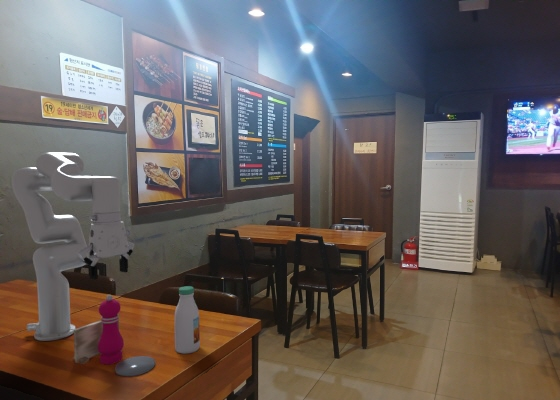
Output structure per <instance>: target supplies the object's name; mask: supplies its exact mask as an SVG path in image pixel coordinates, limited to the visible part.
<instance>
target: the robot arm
mask: <svg viewBox="0 0 560 400" xmlns="http://www.w3.org/2000/svg"><path fill="white" fill-rule="evenodd" d="M34 164H35V165H34V166H35V167H34V166H33V167H32V166H30V167H29V166H28V167H22V168H19V169H17V170H15V171H14V172H13V174H12V177H11V186H12V191H13V194H14V196H15V198H16V199H17V201H18V203H19V204H20V206H21V208H22V210H23V212H24V215H25V220H26V223H27V226H28V230H29V233H30V237H31V238H32V241H33V242H34V243H36V244H48V245H44V246H41V247H39V248H37V249H36V250H35V251H34V252H33V255H32V262H33V263H32V264H33V267H34V271H35V275H36V285H37V286H36V288H37V303H38V304H37V305H38V322H36V323H34V322H33V323H27V325H26V329H27V332H32V331H34V339H35V340H37V341H41V342H45V341H46V342H49V341H56V340H61V339H64V338H67V337H69V336H71V335H74V329H76V328H77V327H76V325H74V324H71V306H70V305H71V304H70V284H69V280H68V279H67V278H66V277H65V276H64V275H63V274H62V272H63V271H67V270H72V269H77V268H81V267H83V266H87V269H88V277H89V279H90V280H95V281H96V280H98V279H99V275H98V273H99V272H98V271H99V269H98V265H96V264H97V262H98V261H99V260H100V259H108V258H113V257H120V258H119V262H118V263H119V272H121V273H128V272H129V271H128V268H129V259H130V257H131V255H132V254H133V252H134V251H133V250H134V248H135V245H136V244H135V242H131V241H129V240H128V236H127V231H126V227H125V222H124V221H122V218H121V216H122V215H121V194H120V193H121V190H120V188H121V187H120V179H119V178H118V177H117V176H100V175H93V176H91V175H83V173H84V169H85V163H84V161H83V159H82V157H81V156H80V155H78V154H77V153H73V152H54V151H53V152H44V153H42V154H39V156H38V157H36V159H35V163H34ZM43 191H44V192H45V191H46V192H47V191H48V192H49V191H52V192H53V194H55V196H57V197H59V198H61V199H62V200H64V201H67V202H74V203H75V202H76V203H77V202H88V201H90V202H92V214H91V215H89V216H88V220H89V221H92V223H91V224H90V227H89V228H90V229H89V235H88V236H89V237H88V245H87V242H86V239H85V236H84V232H83V229H82V225H81V224H80V221H79V220H78V218H76V216H74V215H72V214H61V215H58V214H57V215H56V214H55V213H54V210H53V206H52V205H51V203H50V202H49V200H48V199H47V198H46V197H44V196H43V195H42V194H40V193H39V192H43ZM59 242H63V243H59ZM50 243H55V244H50ZM49 244H50V245H49Z"/></svg>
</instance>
